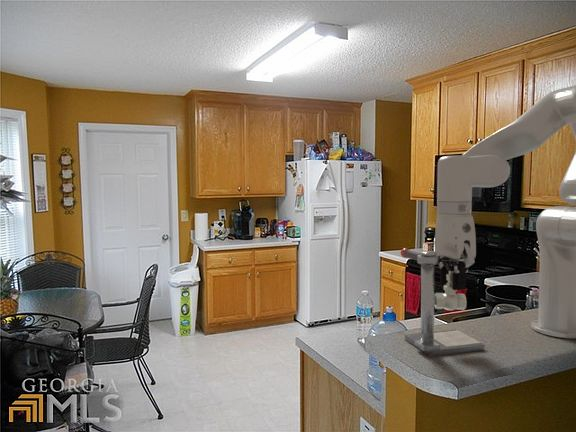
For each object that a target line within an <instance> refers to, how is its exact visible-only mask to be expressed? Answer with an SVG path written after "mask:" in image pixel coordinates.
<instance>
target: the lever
mask: <svg viewBox="0 0 576 432" xmlns="http://www.w3.org/2000/svg"><path fill="white" fill-rule="evenodd" d="M400 255H401V257H402V258H403V259H410V260H413V261H417V264H419V265H421V264H422V265H434V266H435V265H439V264H438V256H422V255H419V252H417V251H413V250H410V249H409V248H402V249H401V250H400Z"/></svg>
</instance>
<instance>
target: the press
mask: <svg viewBox="0 0 576 432" xmlns="http://www.w3.org/2000/svg"><path fill="white" fill-rule="evenodd" d="M418 253H419V255H422V256H436V252H435V250H434V251H433V250H420V251H419V252H418ZM434 294H435V265H422V264H420V332H418V333H410V334H404V341H406V342H407V343H409V344H411V346H413V347H414V348H416V349H418V350H419V351H421V352H422V353H424V354H425V355H427V356H428V357H435V356H436V357H437V356H442V355H452V354H460V353H461V354H462V353H469V352H478V351H485V344H484V343H482V342H481V341H479V340H477V339H475V338H474V337H471V336H469V335H468V334H466V333H464V332H462V331H459V330H457V329H448V330H447V329H446V330H438V331H437V330H436V331H435V306H434Z"/></svg>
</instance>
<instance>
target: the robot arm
mask: <svg viewBox="0 0 576 432" xmlns="http://www.w3.org/2000/svg"><path fill="white" fill-rule="evenodd" d="M566 125H568V126H569V127H570V129H571V132H572V133H573V137H574V140H575V141H576V84H575V85H571V86H567V87H562V88H559V89H556V90H553V91H551V92H549V93H547V94H545V95H543V97H541V98H540V99H539V100H538V101H537V102H535V104H533V105H532V106H531V107H530V108H528V109H527V110H526V111H525V112H524V113H522V115H520V116H519V117H518V118H517V119H515V120H514V121H512V122H511V123H510V124H508V125H506V126H504V127H502V128H501V129H499V130H497V131H496V132H494V133H491V135H489V136H487V137H486V138H483V139H481V140H480V141H478V142H477V143H476V144H474V145H472V147H470V148H469V149H468V150H467V151H465V152H464V153H462V154H461V155H446V156H442V157H440V158H439V159H438V162H437V187H436V192H437V193H436V223H435V231H434V252H436V256H438V258H450V259H453V261H456V266H454V271H453V275H452V289H453V290H457V291H461V290H462V291H464V290H466V289H467V273H469V268H471V266H473V265H474V264H475V262H476V261H475V259H476V256H477V242H476V241H477V238H476V237H477V236H476V227H475V220H474V216H473V215H472V206H473V205H472V199H473V198H472V197H473V188H495V187H499V186H501V185H502V184H504V183H506V181H508V180H509V177H510V174H511V166H510V164H509V162H508V161H507V160H511V159H513V158H517V157H520V156H524V155H527V154H528V153H529V154H530V153H532V152H533V151H536V150H538V149H539V148H541V147H542V146H543V145H544V144H545V143H546V142H547V141H548V140H550V138H552V137H553V136H555V135H556V134H557V133H558V132H559V131H560V130H561V129H562V128H564V127H565V126H566ZM558 194H559V197H560V200H562V201H563V202H565V203H566V204H569V205H572V206H564V205H563V206H562V205H560V206H559V205H556V206H551V207H548V208H544V210H543V211H541V213H539V215H538V216H537V218H536V223H535V229H536V236H537V240H538V247H539V248H538V249H539V273H538V276H539V279H538V282H539V283H538V318H537V319H534V320H533V321H531V325H530V327H531V329H532V330H534V331H535V332H538V333H539V334H542V335H546V336H549V337H555V338H559V339H562V338H563V339H576V150H575V152H574V155H573V157H572V159H571V162H570V163H569V165H568V168H567V170H566V172H565V174H564V176H563V178H562V181H561V182H560V186H559V190H558ZM461 261H464V262H462V263H461V264H460V265H459V262H461ZM438 267H439V269H440V270H439V284H440V286H443V287H444V285H446V283H447V282H448V280H446V277H447V274H449V271H448V270H446V267H445V266H444V265H442V262H440V264H438Z"/></svg>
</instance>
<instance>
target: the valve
mask: <svg viewBox="0 0 576 432" xmlns="http://www.w3.org/2000/svg"><path fill="white" fill-rule="evenodd" d="M440 262H442V265H444V266H445V267H446V270H448V271H449V274H447V277H446V280H448V282H447V283H446V285H444V286H443V290H444V293H443V292H434V309H435V310H443V309H444V310H447V311H454V310H459V311H460V310H461V311H463V310H466V309H467V303H468V302H467V297H466V295H465V293H456V292H457V291H458V290H453V289H452V275H453V273H454V272H455V271H454V266H456V261H453V259H450V258H438V264H437V265H439V264H440ZM462 262H464V261H461V262H459V265H460V264H461V263H462Z"/></svg>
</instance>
